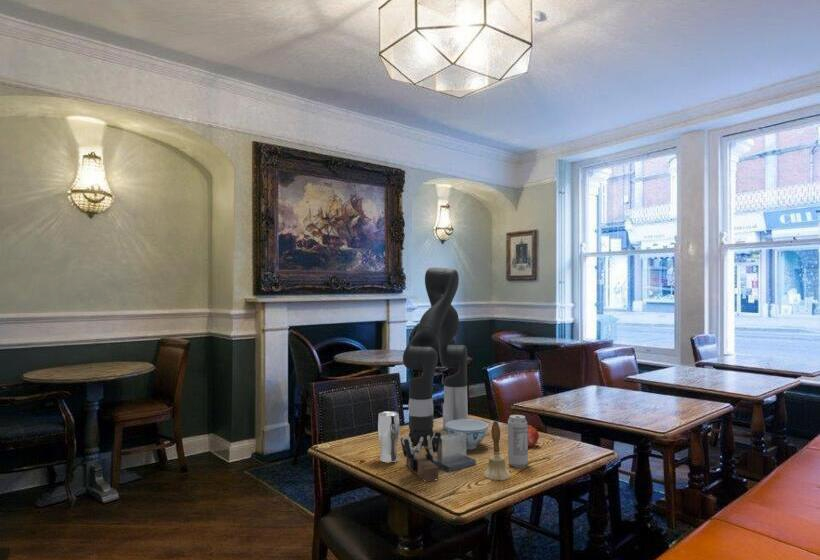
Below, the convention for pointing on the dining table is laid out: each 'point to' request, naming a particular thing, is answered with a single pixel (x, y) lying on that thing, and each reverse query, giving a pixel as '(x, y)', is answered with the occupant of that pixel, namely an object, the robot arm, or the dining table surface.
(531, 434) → the pomegranate
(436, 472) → the walnut plank
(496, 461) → the hand bell
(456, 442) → the stand
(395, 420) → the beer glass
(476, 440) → the chinaware
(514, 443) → the energy drink can
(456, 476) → the dining table surface
